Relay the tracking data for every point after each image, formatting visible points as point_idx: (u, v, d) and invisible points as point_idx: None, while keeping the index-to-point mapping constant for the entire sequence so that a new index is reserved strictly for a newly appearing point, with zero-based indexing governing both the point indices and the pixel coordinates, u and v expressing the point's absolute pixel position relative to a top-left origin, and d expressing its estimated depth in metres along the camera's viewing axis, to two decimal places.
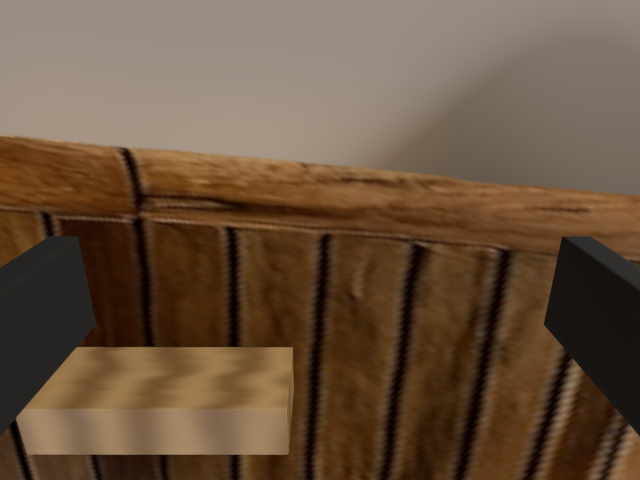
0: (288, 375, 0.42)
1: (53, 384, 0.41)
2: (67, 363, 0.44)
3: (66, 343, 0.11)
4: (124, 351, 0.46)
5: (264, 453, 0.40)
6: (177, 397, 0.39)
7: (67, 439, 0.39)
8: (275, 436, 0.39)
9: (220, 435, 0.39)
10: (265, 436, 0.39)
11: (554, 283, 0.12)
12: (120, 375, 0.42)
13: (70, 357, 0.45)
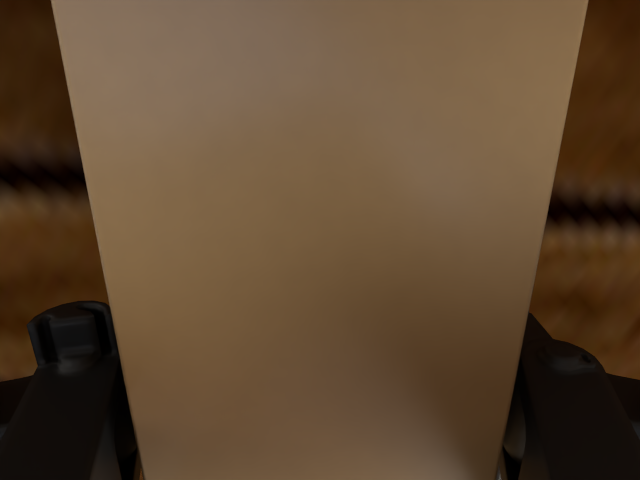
0: None
1: None
2: None
3: None
4: None
5: None
6: None
7: None
8: None
9: (298, 409, 0.06)
10: None
11: None
12: None
13: None
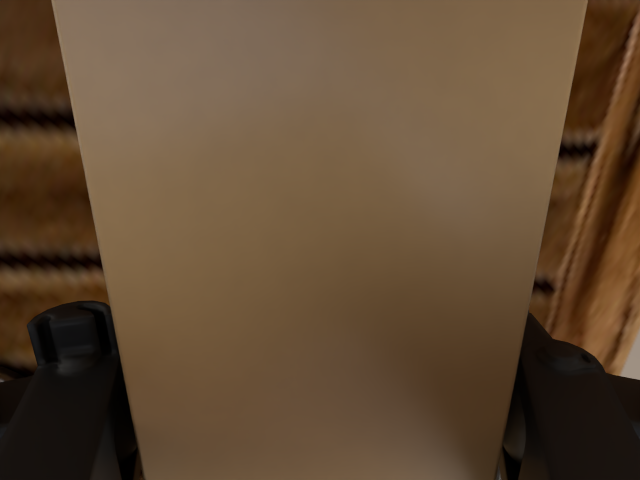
0: None
1: None
2: None
3: None
4: None
5: None
6: None
7: None
8: None
9: (298, 408, 0.06)
10: None
11: None
12: None
13: None
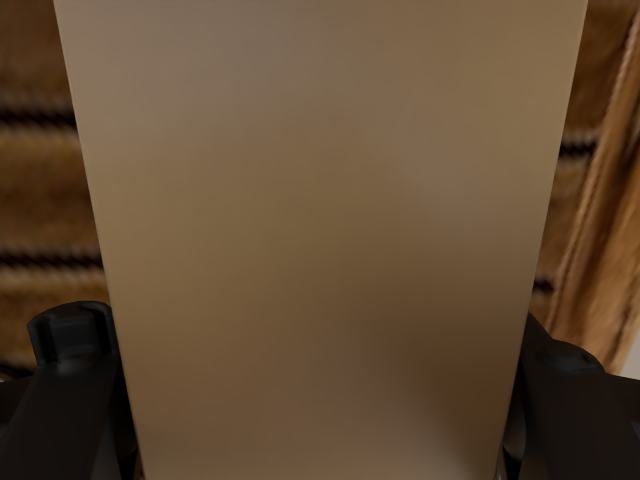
0: None
1: None
2: None
3: None
4: None
5: None
6: None
7: None
8: None
9: (298, 407, 0.06)
10: None
11: None
12: None
13: None
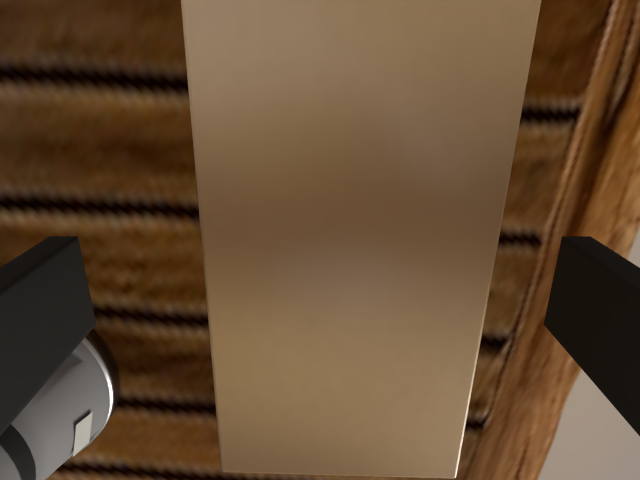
0: None
1: None
2: None
3: (66, 343, 0.11)
4: None
5: (222, 395, 0.09)
6: None
7: None
8: (321, 439, 0.09)
9: (333, 223, 0.08)
10: (321, 404, 0.09)
11: (554, 283, 0.12)
12: None
13: None
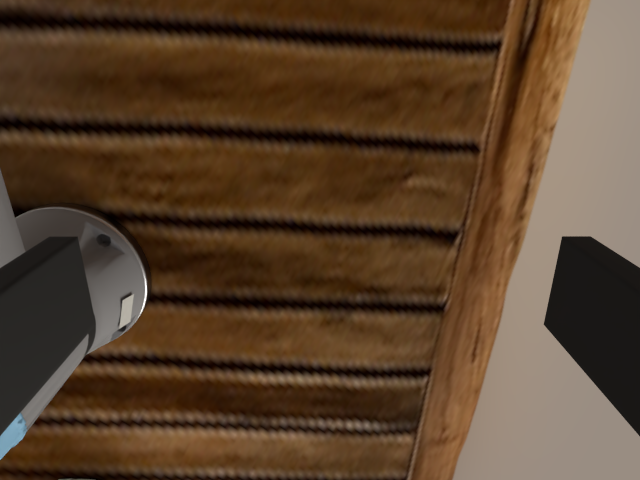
0: None
1: None
2: None
3: (66, 343, 0.11)
4: None
5: None
6: None
7: None
8: None
9: None
10: None
11: (554, 283, 0.12)
12: None
13: None
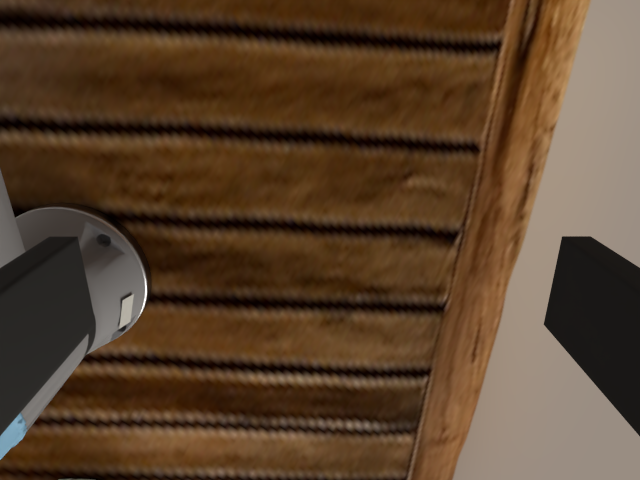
0: None
1: None
2: None
3: (66, 343, 0.11)
4: None
5: None
6: None
7: None
8: None
9: None
10: None
11: (554, 283, 0.12)
12: None
13: None
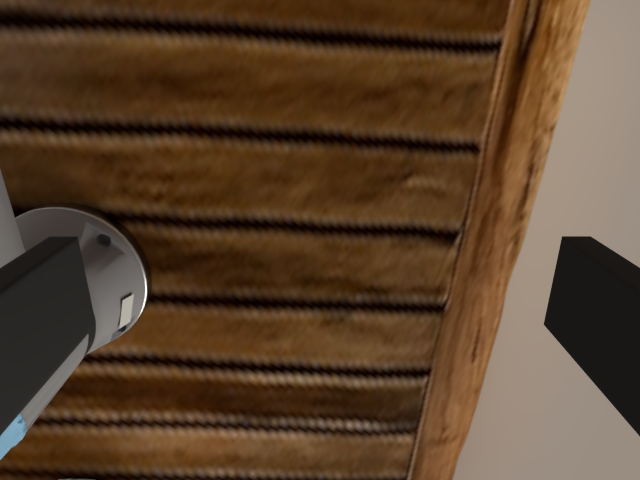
0: None
1: None
2: None
3: (66, 343, 0.11)
4: None
5: None
6: None
7: None
8: None
9: None
10: None
11: (554, 283, 0.12)
12: None
13: None
